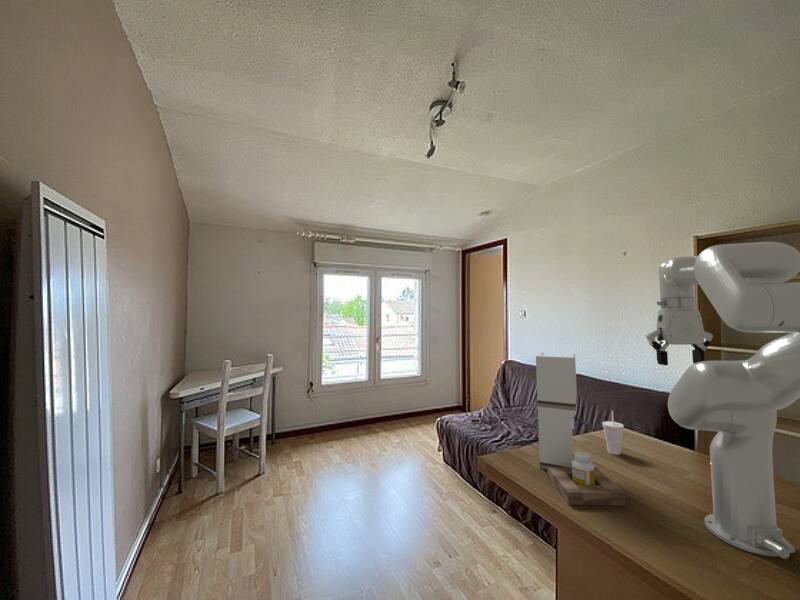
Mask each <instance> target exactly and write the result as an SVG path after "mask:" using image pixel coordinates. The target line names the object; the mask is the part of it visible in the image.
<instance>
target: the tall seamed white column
mask: <svg viewBox="0 0 800 600" xmlns="http://www.w3.org/2000/svg"><path fill="white" fill-rule="evenodd" d="M535 367H536V368H535V369H536V370H535V371H536V373H535V374H536V395H537V401H536V402H537V421H538V422H537V423H538V428H537V429H538V450H539V451H538V453H539V469H541V470H544V471H545V470H546V471H547V467H572V461H573V460H575V458H574V440H573V439H574V438H573V436H574V435H573V432H574V431H575V417H574V416H576V415H577V412H578V392H577V391H578V390H577V388H578V387H577V370H576V368H577V367H576V353H574V352H573V353H571V354H570V355H569V356H553V355H552V356H551V355H550V356H549V355H544V352H541V351H540V352H538V354H537V355H535Z"/></svg>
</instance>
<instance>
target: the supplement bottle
mask: <svg viewBox="0 0 800 600" xmlns="http://www.w3.org/2000/svg"><path fill="white" fill-rule="evenodd" d="M573 454H574V458H575V460H573V461H572V477H573V482H574V483H575V484H576V485H595V474H594V467H595V465H594V464H593V462H591V461H592V457H591V454H590V453H588V452H584V451H575V452H573Z"/></svg>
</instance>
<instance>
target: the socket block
mask: <svg viewBox="0 0 800 600" xmlns="http://www.w3.org/2000/svg"><path fill="white" fill-rule="evenodd" d="M546 471H547V478H548V480H549V481H550V482H551V484H552V485H553V486H554V488H556V490H557V491H558V492H559V494H560V495H561V497H562V498H563V499H564V501H566V502H565V503H567V504H568V505H573V506H574V505H577V506H578V505H580V506H582V505H586V506H595V505H596V506H627V504H626V492H625V491H623V490H622V488H620V487H619V486H618V485H617V484H616V483H615V482H614V481H613V480H611V479H610V478H609V477H608V476H606V475H605V474H604V473H603V472H602V471H601V470H600V469H598V467H595V466H594V474H595V485H576V484H575V483H574V482H573V477H572V467H547V470H546Z"/></svg>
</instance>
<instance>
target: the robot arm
mask: <svg viewBox="0 0 800 600" xmlns="http://www.w3.org/2000/svg"><path fill="white" fill-rule="evenodd" d="M799 273H800V251H799V250H797V249H796V248H795V247H793V246H791V245H789V244H787V243H784V242H779V241H778V242H777V241H758V242H757V241H756V242H742V243H740V242H739V243H727V244H726V243H725V244H715V245H712V246H709V247H707V248H705V249H704V250H702V251H701V252H700V253H699V254H698V255H693V256H678V257H673V258H671V259H669V260H668V261H667V262H666V261H665V262H663V263H660V265H659V266H658V278H659V293H660V294H659V295H660V296H659V298H660V299H659V300H657V301H656V305H657V306H660V309H658V311H657V319H656V330H654V331H652V332H650V333H648V334H646V336H645V338H646V340H647V341H648V343H649V346H651V347H652V348H653V350H655V351H656V352H655V353H656V361H657V364H658V365H661V366H662V365H663V366H668V364H669V359H668V351H667V350H666V349H667V348H668V347H669V346H670V345H673V346H674V345H675V346H677V345H679V346H680V345H682V346H684V345H686V346H687V345H691V347H692V348H693V349H692V351H691V353H692V363H693V364H691V365H690V366H689V367H688V368H687V369H686V370H685V371H684V373H683V374H682V375H681V376H680V378H678V379H679V380H678V381H677V382H676V383H675V384H674V386H673V388H672V389H671V391H670V392H669V395H668V398H667V399H668V400H667V410H668V413H669V416H670V417H671V419H672V420H673V421H674V422H675V423H676V424H678V426H679V427H682V428H684V429H688V430H692V431H693V430H695V431H704V432H705V431H707V432H717V433H716V434H715V435H714V437H713V438H712V439H711V443H710V446H709V459H710V460H709V461H710V462H709V463H710V477H711V478H710V479H711V494H712V496H711V497H712V509H713V510H712V511H713V513H710V514H707V515H706V516H705V517H704V526H705V527H706V529H707V530H708V531H709V532H710V533H711V534H712V535H713V536H715V537H717V538H718V539H720V540H721V541H723V542H724V543H727V544H728V545H731V546H732V547H735V548H738V549H740V550H743V551H746V552H749V553H752V554H756V555H760V556H766V557H776V558H777V557H780V558H782V559H783V560H784V559H785V560H786V559H788V558H789V557H790V555H791V554H793V553H795V552H796V547H795V546H794V545H792V544H790V543H789V542H788V540H787V539H786V538H785V537H784V536H783V529H781V528H780V527H778V526H777V512H776V511H777V509H776V495H775V483H774V482H775V480H774V463H773V461H774V460H773V444H774V443H773V442H774V435H775V431H776V426H777V420H778V419H777V418H778V414H777V413H778V412H777V411H780V410H783V409H786V408H788V407H789V406H790V405H792V404H793V403H795V402H796V401H797V400H799V399H800V281H793V282H792V281H791V282H790V280H791V279H793V278H794V277H795V276H797V275H798V274H799ZM788 281H789V282H788ZM694 285H699V287H700V288H701V290H702V291H703V293H704V294H705V296H706V297H707V299H708V300H709V302H710V303H711V305H712V307H713V308H714V310H715V311H716V313H717V314H718V316H719V317H720V319H721V320H722V321H723V322H724V323H725V324H726V325H727V326H728V327H729V328H731V329H732V330H735V331H737V332H738V331H739V332H741V333H752V334H754V333H755V334H757V333H758V334H759V333H763V334H764V333H765V334H766V333H768V334H769V333H770V334H771V333H772V334H773V333H774V334H775V333H779V334H781V333H782V334H783V333H787V334H785V335H783V336H780V337H778V338H776V339H773V340H772V341H769V342H767V343H766V344H765V345H762V347H760V348H759V349H758V351H756V353H755V354H754V355H752V356H751V357H750V358H748V359H745V360H744V359H742V360H705V351H707V349H708V347H709V346H710V345H711V341H712V339H713V337H714V335H713V334H712V333H711V332H710V333H709V332H707V331H705V330H704V324H703V320H702V315H701V313H700V310H699V308H696V305H695V304H696V303H695V299H696V298H695V286H694ZM656 339H657V341H656Z"/></svg>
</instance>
